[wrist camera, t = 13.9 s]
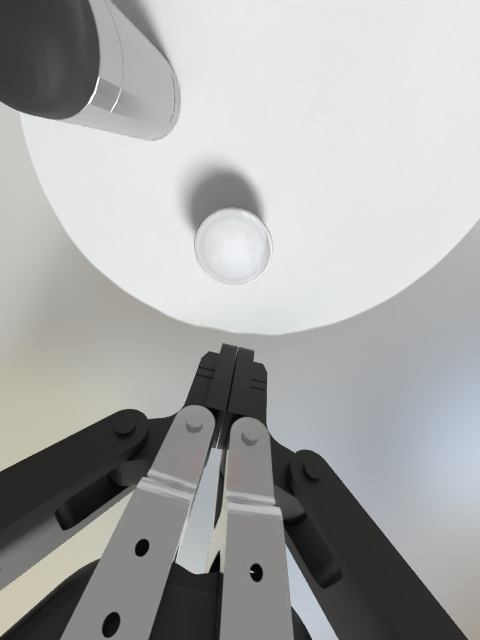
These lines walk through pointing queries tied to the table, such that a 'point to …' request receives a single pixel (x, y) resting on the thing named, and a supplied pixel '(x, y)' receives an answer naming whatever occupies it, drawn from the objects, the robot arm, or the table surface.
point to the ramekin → (233, 246)
